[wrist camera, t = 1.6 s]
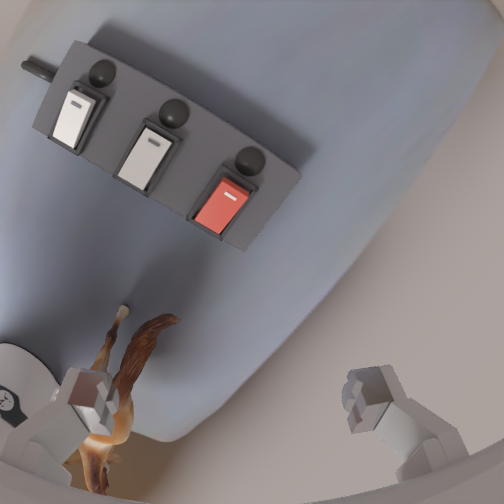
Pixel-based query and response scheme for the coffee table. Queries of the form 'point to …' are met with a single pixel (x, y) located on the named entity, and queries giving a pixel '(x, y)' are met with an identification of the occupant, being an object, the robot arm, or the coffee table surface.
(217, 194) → the red rocker
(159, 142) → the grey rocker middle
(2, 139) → the coffee table surface
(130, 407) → the horse figurine
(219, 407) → the coffee table surface
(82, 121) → the grey rocker end
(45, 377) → the robot arm
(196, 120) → the grey switch panel
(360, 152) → the coffee table surface
